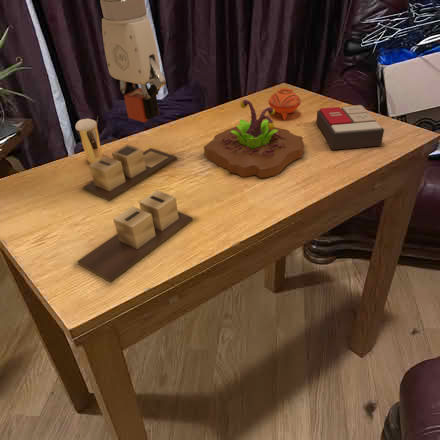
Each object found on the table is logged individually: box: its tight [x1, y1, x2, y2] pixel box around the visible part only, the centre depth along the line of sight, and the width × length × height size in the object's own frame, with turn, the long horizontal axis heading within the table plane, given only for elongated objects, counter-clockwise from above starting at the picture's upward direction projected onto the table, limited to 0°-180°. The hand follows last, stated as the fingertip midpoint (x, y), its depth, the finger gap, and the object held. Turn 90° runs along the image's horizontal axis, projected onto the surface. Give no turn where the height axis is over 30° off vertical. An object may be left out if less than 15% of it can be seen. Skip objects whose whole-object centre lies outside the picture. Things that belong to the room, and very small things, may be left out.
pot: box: [268, 87, 302, 121], centre depth 106 cm, size 8×8×7 cm
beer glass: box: [75, 117, 104, 164], centre depth 92 cm, size 4×5×10 cm
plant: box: [203, 99, 305, 179], centre depth 90 cm, size 20×20×11 cm
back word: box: [82, 144, 178, 202], centre depth 89 cm, size 8×20×5 cm, turn 143°
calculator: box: [316, 104, 385, 151], centre depth 97 cm, size 11×4×15 cm
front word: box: [77, 189, 194, 283], centre depth 72 cm, size 8×20×5 cm, turn 143°
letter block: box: [123, 87, 160, 123], centre depth 86 cm, size 4×4×5 cm
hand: (143, 113), depth 87 cm, fingers closed on letter block, 4 cm apart
